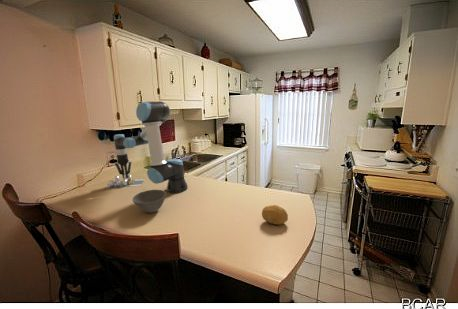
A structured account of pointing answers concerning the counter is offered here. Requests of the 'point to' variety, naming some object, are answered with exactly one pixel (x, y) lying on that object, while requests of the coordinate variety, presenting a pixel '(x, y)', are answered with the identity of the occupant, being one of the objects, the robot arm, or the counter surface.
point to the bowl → (149, 200)
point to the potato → (274, 214)
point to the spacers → (119, 181)
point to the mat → (135, 183)
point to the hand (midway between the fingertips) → (126, 182)
